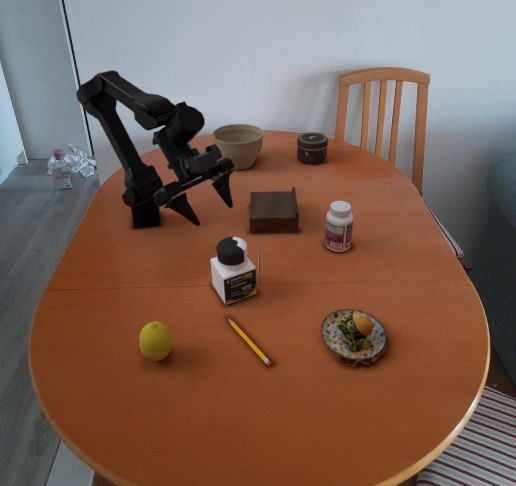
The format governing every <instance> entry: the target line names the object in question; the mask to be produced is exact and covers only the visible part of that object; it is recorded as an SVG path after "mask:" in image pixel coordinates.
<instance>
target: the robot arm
mask: <svg viewBox="0 0 516 486" xmlns="http://www.w3.org/2000/svg"><path fill="white" fill-rule="evenodd" d="M75 94H76V98H77V101H78V103H79V104H80V105H81V106H82V107H83V109H84V110H85V112H86V114H88V115H90V116H92V117H93V118H95V120H97V121H98V122H99V124H100V126H101V128H102V130H103V132H104V134H105V135H106V138H107V140H108V141H109V143H110V145H111V147H112V149H113V150H114V153H115V155H116V157H117V158H118V160H119V162H120V165H121V166H122V168H123V170H124V181H123V184H124V187H125V191H124V192H123V193H122V195H121V199H122V202H123V204H124V205H125V206H127V207H128V208H130V211H131V217H132V228H133V229H141V228H142V229H143V228H151V227H158V226H160V225H159V224H160V221H161V214H162V213H161V207H163V208H164V209H165V210H167V209H170V210H171V211H173V212H175V213H177V214H178V215H180V216H181V217H183V218H185V219H186V220H187V221H189V222H190V223H192V224H193V225H194V226H195V227H199V226H201V222H200V220H199V217H198V215H197V214H196V213H195V211H194V209H193V207H192V206H191V204H190V203H189V201H188V197H187V192H185V191H187V190H189V189H192V188H194V187H196V186H197V185H199V184H202V183H204V182H206V181H208V180H210V181H212V183H211V185H212V187H213V189H214V190H215V191H216V193H217V194H218V196H219V197H220V198H221V200H222V201H223V203H224V204H225V205H226V206H227V207H228V208H229V209H232V208H233V207H234V203H233V198H232V193H231V192H232V191H231V187H230V178H231V175H232V174H233V173H234V169H233V168H234V167H236V166H235V164H234V163H233V161H232V160H231V159H230V158H227V157H226V158H224V159H221V158H222V154H221V151H220V149H219V148H218V146H217V145H216V144H214V143H212V144H210V145H207V146H206V147H205V151H203V152H200V150H198V149H197V147H193V148H192V146H191V144H190V142H192V141H193V139H194V138H196V136H197V135H198V134H199V133H200V132H201V131H202V130H203V128H204V127H205V124H206V121H205V117H204V114H203V113H202V111H200V110H199V109H197V108H196V107H194V106H192V105H191V106H190V105H188V104H187V102H186V101H181V102H177V103H176V104H175V103H173V102H171V101H170V99H168V98H167V97H165V96H163V95H160V94H157V93H148V92H146V91H143V90H142V89H141V88H139V87H138V86H136V85H135V84H133V83H132V82H130V81H129V80H128V79H126V78H124V77H122V76H121V75H120V73H119V72H118V71H117V70H113V69H111V70H106V71H102V72H98V73H97V74H95V75H94V76H93V77H92V78H91V79H89V80H87V81H86V82H84V83H82V84H80V85H78V89H77V90H76V92H75ZM118 102H119V103H120V104H121V105H123V106H124V107H126V108H127V109H129V110H130V111H131V112H132V113H133V117H134V121H135V122H136V123H137V124H138V125H139V126H140V127H142V128H143V129H144V130H145V131H152V130H155V129H157V128H160V129H159V130H157V131H154V132H153V137H152V141H151V143H152V146H156V145H158V147H159V149H160V150H161V152H162V154H163V155H164V157H165V159H166V161H167V162H168V164H167V165H166V167H167V169H168V170H169V171H170V170H172V171H173V173H174V174H175V176H176V178H177V179H178V180H177V181H176V180H174V181H171V182H168V183H166V184H165V185H164V183H163V180H162V178H161V177H160V175H159V174H158V171H157V169H156V167H155V166H154V165H153V164H151V165H148V164H147V163H145V162H144V161H143V159H142V157H141V156H140V154H139V152H138V150H137V147H136V146H135V144H134V142H133V141H132V139H131V137H130V135H129V132H128V130H127V129H126V127H125V125H124V123H123V121H122V119H121V118H120V115H119V113H118V111H117V105H118Z"/></svg>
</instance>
